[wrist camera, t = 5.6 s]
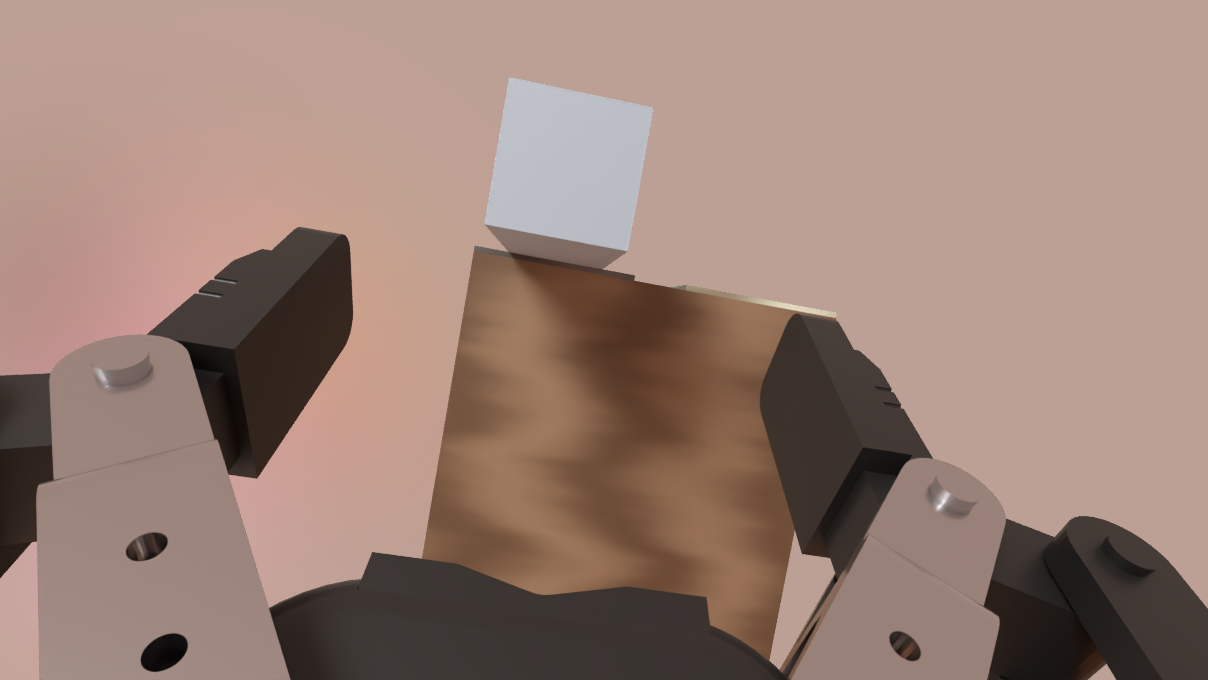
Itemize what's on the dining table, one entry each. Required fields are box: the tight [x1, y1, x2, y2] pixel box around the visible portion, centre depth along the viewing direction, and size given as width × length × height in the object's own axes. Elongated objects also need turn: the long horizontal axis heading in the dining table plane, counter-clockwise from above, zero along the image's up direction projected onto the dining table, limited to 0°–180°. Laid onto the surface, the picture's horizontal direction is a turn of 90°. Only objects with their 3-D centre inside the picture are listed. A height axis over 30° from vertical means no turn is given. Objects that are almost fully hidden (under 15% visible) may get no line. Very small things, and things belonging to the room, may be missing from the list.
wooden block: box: [422, 246, 837, 660], centre depth 30 cm, size 14×12×32 cm
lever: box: [485, 78, 653, 269], centre depth 25 cm, size 4×20×4 cm, turn 5°
